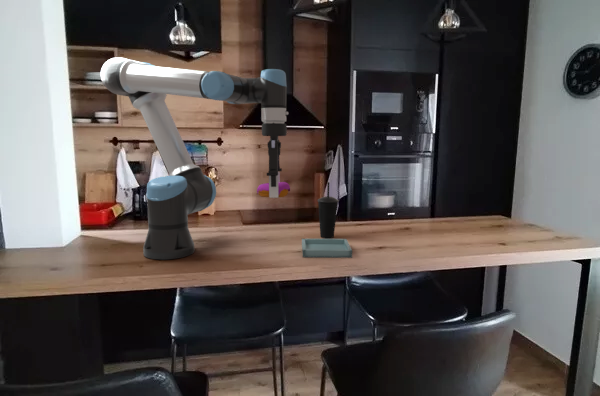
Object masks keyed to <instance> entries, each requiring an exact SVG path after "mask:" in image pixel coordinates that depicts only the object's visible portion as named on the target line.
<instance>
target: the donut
mask: <svg viewBox="0 0 600 396" xmlns="http://www.w3.org/2000/svg"><path fill="white" fill-rule="evenodd" d="M256 189H257V190H256V192H257V193H256V194H257V195H259V196H260V197H261V198H269V182H267V183H262V184H259V185H258V187H257V188H256ZM289 192H291V186H290V184H289V183H288V182H286V181H280V182H278V198H284V197H286V196H288V193H289Z"/></svg>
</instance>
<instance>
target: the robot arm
mask: <svg viewBox="0 0 600 396" xmlns="http://www.w3.org/2000/svg"><path fill="white" fill-rule="evenodd" d="M100 79H101V82H102V84H103V85H104V87H105V88H106V89H107V90H108V91H109V92H111V93H112V94H115V95H118V96H124V97H128V99H129V101H130V103H131V105H132V107H133V108H135V109H136V110H139V111H140V113H141V115H142V118H143V120H144V122H145V124H146V126H147V129H148V130H149V134H150V135H151V137H152V139H153V142H154V144H155V145H156V147H157V150H158V152H159V154H160V157H161V159H162V162H163V164H164V165H165V167H166V170H167V172H168V175H166V176H160V177H155V178H152V179H151V180H149V181H148V182H147V184H146V207H147V223H148V224H147V225H148V227H147V229H148V230H147V234H146V237H145V240H144V244H143V247H142V249H143V250H142V251H143V256H144V257H145V258H147V259H150V260H151V259H152V260H176V259H180V258H184V257H188V256H191V255H192V254H194V253H195V243H194V240H193V237H192V235H191V232H190V229H189V222H188V221H189V219H188V216H189V215H190V214H193V213H196V212H202V211H203V210H205V209H208V208H209V207H211V206H212V205H213V203H214V201H215V199H216V197H217V187H216V184H215V182H214V180H213V179H212V178H211V177H209V176H207V175H206V174H204V173H203V170H202V168H201V167H200V166H199V165H196V164H194V162H193V160H192V158H191V155H190V153H189V152H188V148H187V147H186V145H185V142H184V140H183V139H182V136H181V134H180V132H179V130H178V128H177V125H176V123H175V121H174V119H173V116H172V114H171V112H170V110H169V108H168V105H167V103H166V98H167V96H168V95H172V96H181V97H189V98H199V99H208V100H213V101H222V102H226V103H228V104H233V105H243V104H244V105H245V104H261V108H260V109H261V110H260V111H261V117H260V119H261V122H262V124H261V135H262V137H269V141H268V142H267V155H268V172H266V176H268V183H269V197H268V198H271V199H273V198H274V199H275V198H278V199H279V197H278V182H281V178H280V177H281V176H280V175H281V173H280V172H282V171H283V169H282V168H281V166H280V155H281V147H282V142H281V141H280V139H279V137H286V136H287V129H288V127H287V123H285V122H287V116H288V115H289V111H287V88H288V86H287V85H288V84H287V74H286V72H285V71H284V70H282V69H278V68H277V69H276V68H267V69H263V70H261V72H260V77H259V76H258V77H241V76H238V75H233V74H230V73H225V72H224V71H219V70H211V71H208V70H196V69H187V68H178V67H177V68H174V67H165V66H156V65H154V64H151V63H149V62H145V61H138V60H133V59H130V58H129V59H128V58H125V57H112V58H110V59H107V61H105V62H104V63H103V65H102V67H101V69H100Z"/></svg>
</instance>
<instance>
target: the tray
mask: <svg viewBox="0 0 600 396" xmlns="http://www.w3.org/2000/svg"><path fill="white" fill-rule="evenodd" d="M301 253H302V258H331V259H333V258H334V259H336V258H338V259H340V258H341V259H342V258H343V259H344V258H348V259H350V258H353V250H352V247H351V245H350V243H349V241H348V239H347V238H328V239H327V238H301Z"/></svg>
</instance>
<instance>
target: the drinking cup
mask: <svg viewBox="0 0 600 396" xmlns="http://www.w3.org/2000/svg"><path fill="white" fill-rule="evenodd" d="M326 186H327V187H326V188H327V189H326V190H327V191H326V193H327V194H326V196H322V197H321V198H318V199H317V202H318V206H317V207H318V219H319V220H318V221H319V222H318V223H319V233H320V239H334V237H335V229H336V222H337V213H338V204H339V201H340V200H339V199H338V198H335V197H334V196H330V182H328V181H327V185H326Z"/></svg>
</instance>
